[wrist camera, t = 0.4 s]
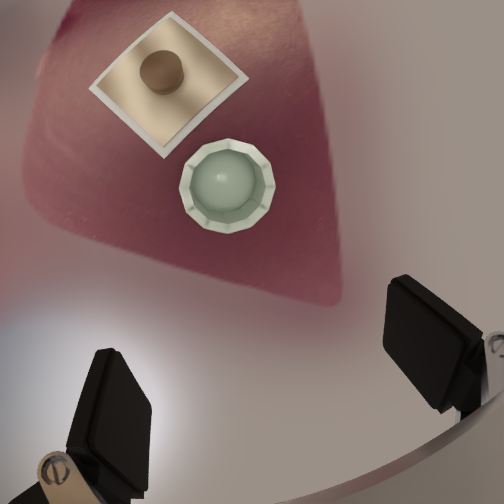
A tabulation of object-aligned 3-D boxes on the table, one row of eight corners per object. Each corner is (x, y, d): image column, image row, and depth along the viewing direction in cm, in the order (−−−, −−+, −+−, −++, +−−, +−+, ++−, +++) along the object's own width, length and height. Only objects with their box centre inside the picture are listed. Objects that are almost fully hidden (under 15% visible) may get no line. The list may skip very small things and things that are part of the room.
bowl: (223, 124, 32) (229, 120, 27) (277, 180, 36) (292, 187, 30) (167, 181, 33) (161, 189, 28) (223, 233, 37) (227, 250, 31)
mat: (171, 12, 25) (171, 11, 25) (248, 79, 31) (249, 78, 30) (89, 89, 27) (88, 88, 27) (164, 158, 32) (164, 159, 32)
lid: (170, 19, 25) (167, 2, 21) (237, 78, 30) (243, 67, 25) (98, 86, 27) (84, 79, 22) (164, 147, 31) (158, 147, 27)
